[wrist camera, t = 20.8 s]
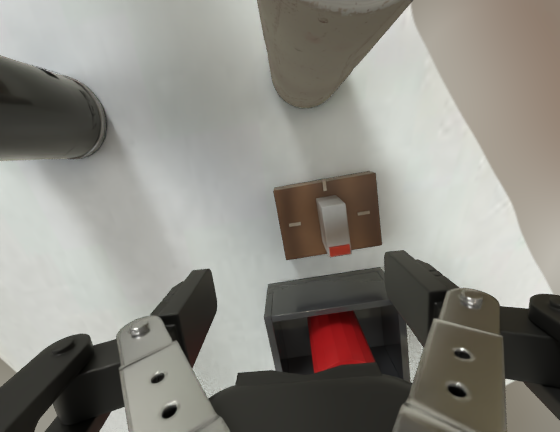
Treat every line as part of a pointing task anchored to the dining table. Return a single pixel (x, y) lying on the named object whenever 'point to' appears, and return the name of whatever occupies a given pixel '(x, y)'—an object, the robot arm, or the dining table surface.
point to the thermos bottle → (321, 42)
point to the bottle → (337, 341)
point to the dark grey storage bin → (327, 300)
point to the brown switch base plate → (305, 221)
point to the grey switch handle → (334, 225)
